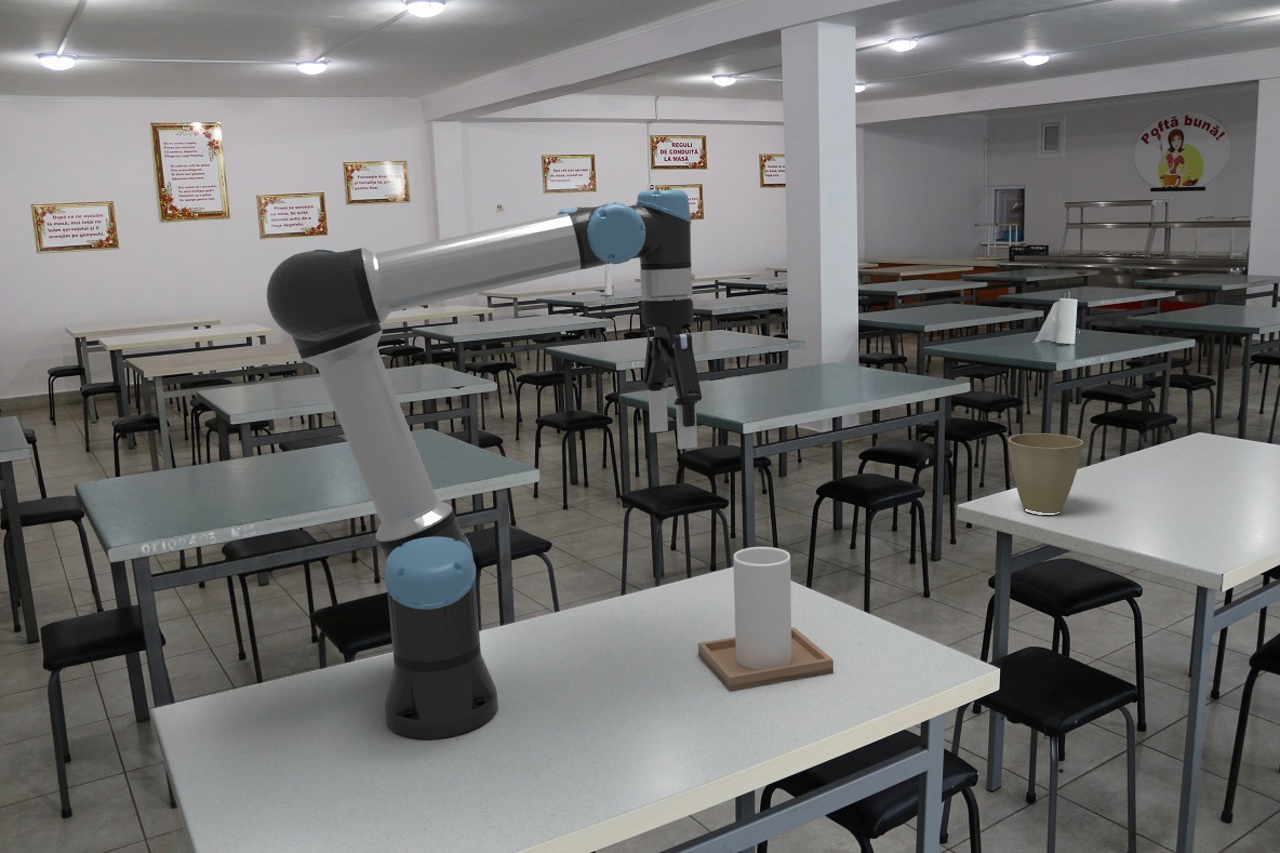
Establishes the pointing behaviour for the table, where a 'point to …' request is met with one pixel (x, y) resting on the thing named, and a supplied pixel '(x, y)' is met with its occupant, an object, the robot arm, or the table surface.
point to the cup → (762, 607)
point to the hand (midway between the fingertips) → (672, 439)
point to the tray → (736, 676)
